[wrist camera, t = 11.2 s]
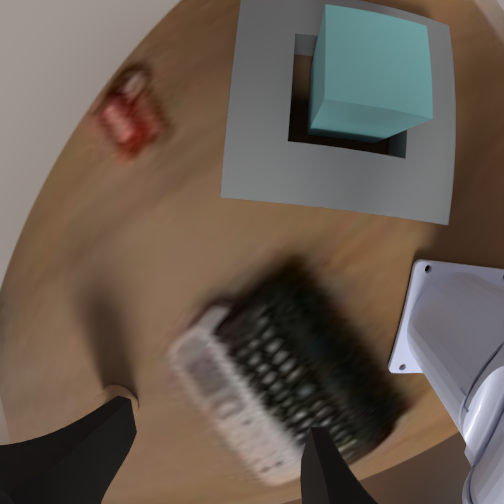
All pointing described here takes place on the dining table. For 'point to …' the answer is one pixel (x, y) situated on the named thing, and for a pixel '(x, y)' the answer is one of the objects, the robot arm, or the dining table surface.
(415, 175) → the socket block
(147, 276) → the dining table surface
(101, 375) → the dining table surface
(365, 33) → the peg
